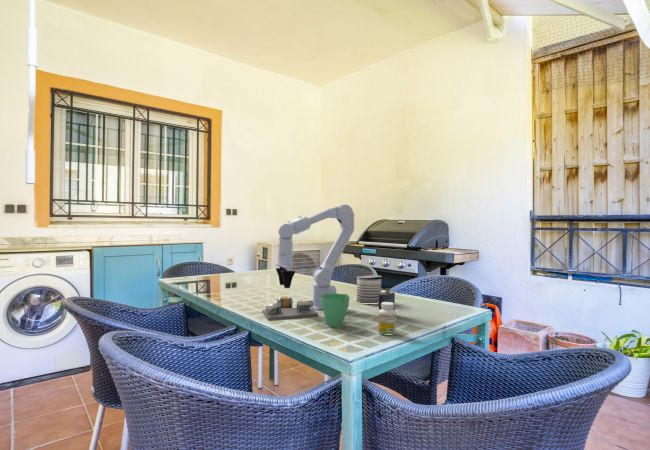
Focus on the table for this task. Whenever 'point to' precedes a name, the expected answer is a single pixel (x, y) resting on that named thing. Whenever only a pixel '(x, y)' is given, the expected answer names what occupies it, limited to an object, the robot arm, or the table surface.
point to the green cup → (335, 308)
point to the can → (368, 289)
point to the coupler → (285, 302)
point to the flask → (387, 298)
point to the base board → (290, 314)
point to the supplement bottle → (387, 318)
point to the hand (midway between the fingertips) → (284, 286)
